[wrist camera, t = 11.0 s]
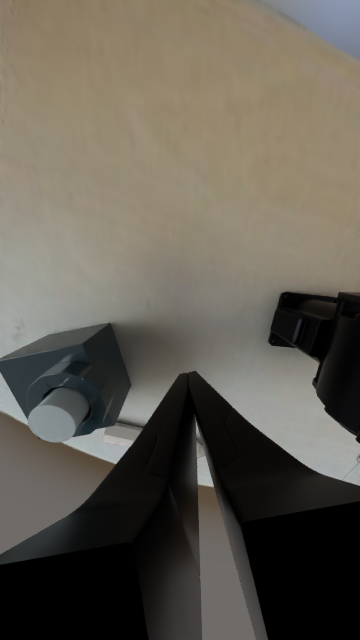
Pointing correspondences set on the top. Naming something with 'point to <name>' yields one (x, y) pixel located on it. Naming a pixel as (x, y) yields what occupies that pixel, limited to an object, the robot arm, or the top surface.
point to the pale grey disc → (59, 414)
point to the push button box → (71, 373)
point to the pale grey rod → (132, 436)
